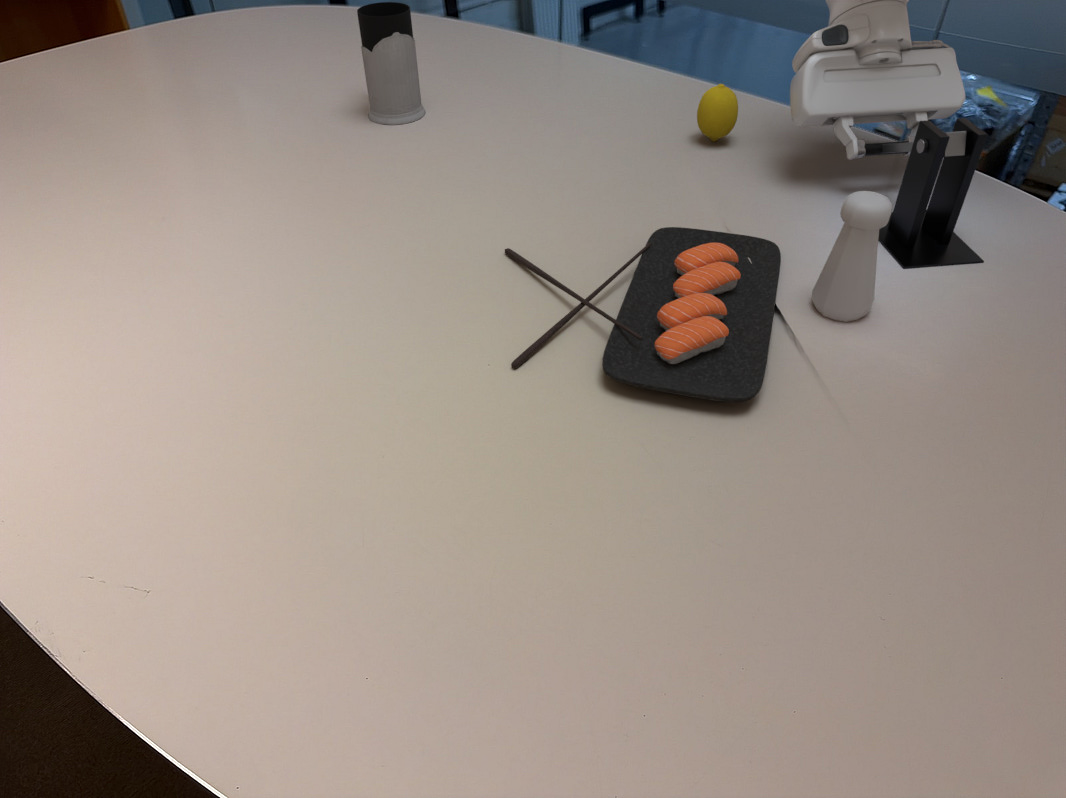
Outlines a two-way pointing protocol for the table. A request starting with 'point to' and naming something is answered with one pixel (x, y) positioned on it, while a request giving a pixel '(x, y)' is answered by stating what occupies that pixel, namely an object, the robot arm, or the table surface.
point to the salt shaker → (853, 259)
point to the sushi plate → (688, 315)
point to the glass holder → (390, 63)
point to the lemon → (717, 112)
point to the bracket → (933, 200)
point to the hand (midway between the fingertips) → (884, 155)
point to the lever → (901, 147)
